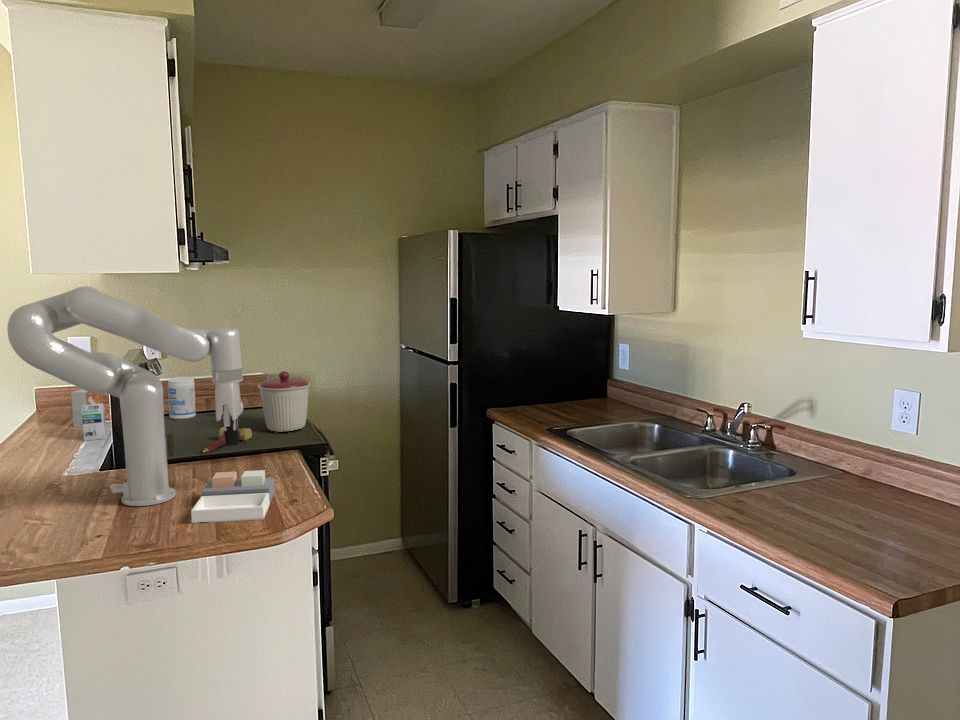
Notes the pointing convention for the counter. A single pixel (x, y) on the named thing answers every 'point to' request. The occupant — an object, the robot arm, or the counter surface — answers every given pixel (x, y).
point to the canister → (285, 402)
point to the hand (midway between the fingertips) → (232, 444)
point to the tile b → (253, 478)
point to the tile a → (224, 479)
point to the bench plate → (241, 489)
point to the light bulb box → (93, 421)
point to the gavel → (243, 435)
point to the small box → (79, 400)
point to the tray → (230, 508)
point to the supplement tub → (181, 398)
